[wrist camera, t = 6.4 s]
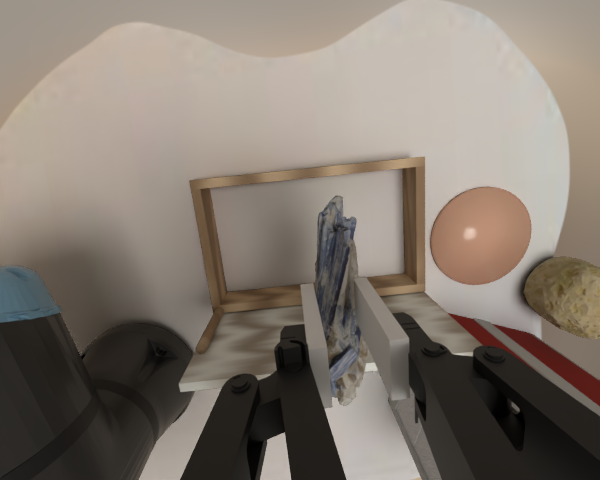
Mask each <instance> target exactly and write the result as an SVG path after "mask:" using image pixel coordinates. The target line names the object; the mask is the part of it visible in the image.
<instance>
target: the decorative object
mask: <svg viewBox="0 0 600 480" xmlns="http://www.w3.org/2000/svg"><path fill="white" fill-rule="evenodd" d="M522 293H523V295H525V296H526V300H527V301H528V305H529V306H531V307H532V308H533V309H534V311H535V312H537V313H538V314H539V315H540V316H542V317H543V318H544V319H546V320H547V321H549V322H550V323H552V324H554V325H555V326H556V327H558V328H560V329H562V330H565V331H568V332H569V333H572V334H574V335H576V336H580V337H582V338H583V337H585V338H588V339H593V340H596V339H600V268H599V267H596V266H594V265H593V264H590V263H588V262H586V261H583V260H580V259H576V258H570V257H558V258H557V257H556V258H551V259H547V260H546V261H544V262H543V263H542V264H539V266H537V267H536V268H535V269H534V270H533V271H532V272H531V274H530V275H529V277H528V278H527V281H526V284H525V287H524V290H523V292H522Z"/></svg>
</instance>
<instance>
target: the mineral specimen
mask: <svg viewBox="0 0 600 480" xmlns="http://www.w3.org/2000/svg"><path fill="white" fill-rule="evenodd" d="M355 226H356V218H355V217H351V218H350V219H346V217H343V197H341V196H335V197H334V198H333V199H332V200H331V201H330V202H329V204H328V205H327V206H326V207H325V209H324V211H322V212H320V213H319V216H318V240H317V261H316V263H315V265H316V266H315V271H316V282H315V295H316V299H317V304H318V308H319V313H320V317H321V322H322V326H323V331H324V335H325V340H326V344H327V351H328V363H329V374H330V385H331V397H335V398H338V401H339V403H340V404H341V405H343V406H346V405H348V404H349V403H350V402H351V401H352V400H353V399H354V398H355V397H356V391H355V388H357V387H359V386H360V383H361V381H362V379H363V374H364V371H365V367H366V362H367V359H368V346H367V344H366V342H365V340H364V337H363V335H362V333H361V331H360V328H359V326H358V324H357V322H356V314H355V297H354V281H353V279H355V278H358V264H357V254H356V246H355V243H354V241H353V236H354V231H355Z"/></svg>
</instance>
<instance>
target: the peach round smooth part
mask: <svg viewBox="0 0 600 480" xmlns="http://www.w3.org/2000/svg"><path fill="white" fill-rule="evenodd" d="M530 238H531V220H530V216H529V213H528V211H527V209H526V207H525V205H524V204H523V203H522V202H521V200H520V199H519V198H517V197H516V196H515V195H514V194H512V193H510V192H508V191H506V190H503V189H499V188H492V187H480V188H474V189H471V190H468V191H466V192H463V193H461V194H460V195H458V196H456V197H455V198H454V199H452V200H451V201H450V202H449V203H448V204H447V205H446V206H445V207H444V208H443V209H442V211H441V212H440V213H439V215H438V217H437V219H436V221H435V223H434V225H433V228H432V233H431V241H430V243H431V251H432V255H433V258H434V260H435V262H436V264H437V266H438V267H439V268H440V270H441V271H442V272H443V273H444V274H446V275H447V276H448V277H450V278H451V279H453V280H455V281H457V282H460V283H464V284H469V285H481V284H486V283H490V282H493V281H495V280H498V279H500V278H501V277H503V276H505V275H506V274H508V273H509V272H510V271H511V270H512V269H514V268H515V267H516V265H517V264H518V263H519V262H520V261H521V259H522V258H523V256H524V254H525V252H526V250H527V248H528V246H529V242H530Z"/></svg>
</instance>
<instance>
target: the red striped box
mask: <svg viewBox="0 0 600 480" xmlns="http://www.w3.org/2000/svg"><path fill="white" fill-rule="evenodd" d="M448 314H449V313H448ZM449 315H450V316H451V317H452V318H453V319H454V320H456V321H457V322H458V323H459V324H460V325H461V326H462V327H463V328H464V329H465V330H467V331H468V332H469V333H470V334H471V335H472V336H473V337H474V338H475V339H476V340H478V341H479V342H480V343H481V344H482V345H483V346H486V345H488V346H495V347H498V348H501V349H504V350H506V351H507V352H509V353H511V354H512V355H514V356H515V357H516V358H518V359H519V360H521V361H522V362H524V363H525V364H526V365H528V366H529V367H531V368H532V369H534V370H535V371H536V372H538V373H539V374H541V375H542V376H543V377H545V378H546V379H548V380H549V381H551V382H552V383H553V384H555V385H556V386H558V387H559V388H561V389H562V390H563V391H565V392H566V393H568V394H569V395H571V396H572V397H573V398H575V399H576V400H578V401H579V402H580V403H582V404H583V405H585V406H586V407H588V408H589V409H590V410H592V411H593V412H595V413H596V414H598V415H599V416H600V379H598V378H597V377H595V376H594V375H592V374H591V373H589V372H588V371H586V370H585V369H583V368H582V367H580V366H579V365H577V364H576V363H575V362H573V361H571V360H570V359H569V358H567V357H566V356H564V355H563V354H561V353H560V352H558V351H557V350H555V349H554V348H552V347H551V346H549V345H548V344H546V343H545V342H543V341H542V340H541V339H539V338H538V337H536V336H535V335H533V334H530V333H527V332H523V331H519V330H515V329H511V328H506V327H502V326H498V325H494V324H491V323H490V322H488V321H483V320H479V319H475V318H474V319H470V318H466V317H462V316H458V315H453V314H449ZM388 401H389V404H390V406H391V408H392V411H393V413H394V415H395V418H396V420H397V422H398V425H399V427H400V429H401V432H402V434H403V436H404V439H405V441H406V443H407V446H408V448H409V450H410V453H411V455H412V457H413V460H414V462H415V464H416V467H417V469H418V471H419V474H420V476H421V478H422V480H442V479H441V476H440V473H439V471H438V468H437V465H436V463H435V460H434V457H433V454H432V452H431V449H430V446H429V444H428V441H427V438H426V435H425V433H424V430H423V427H422V425H421V422H420V419H419V418H418V423H415V399H414V393H413V391H412V389H411V387H410V398H409V399H401V400H392V401H391V398H390V397H389V400H388ZM512 407H513V408H514V409H515V410H517V411H518V412H519V411H520V409H519V408H518V407H517V406H516V405H515V404H514V403H513V402H512Z"/></svg>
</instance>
